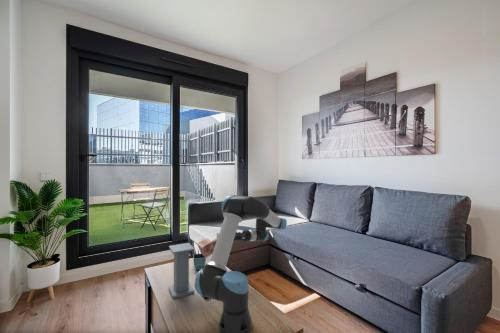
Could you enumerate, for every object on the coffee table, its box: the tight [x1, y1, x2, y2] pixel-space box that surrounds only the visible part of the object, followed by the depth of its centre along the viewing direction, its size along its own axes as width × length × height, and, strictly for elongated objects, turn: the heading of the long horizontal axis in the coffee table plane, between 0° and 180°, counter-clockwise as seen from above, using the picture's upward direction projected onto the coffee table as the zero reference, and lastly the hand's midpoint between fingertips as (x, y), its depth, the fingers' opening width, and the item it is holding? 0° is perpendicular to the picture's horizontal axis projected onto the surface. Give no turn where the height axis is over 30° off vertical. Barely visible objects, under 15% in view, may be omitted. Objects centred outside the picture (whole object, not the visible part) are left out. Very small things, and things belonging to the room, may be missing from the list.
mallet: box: [196, 237, 218, 258], centre depth 147 cm, size 23×9×7 cm, turn 122°
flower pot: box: [192, 253, 207, 271], centre depth 167 cm, size 9×9×9 cm
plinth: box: [168, 242, 195, 300], centre depth 136 cm, size 12×12×26 cm
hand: (217, 235), depth 147 cm, fingers closed on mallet, 2 cm apart
